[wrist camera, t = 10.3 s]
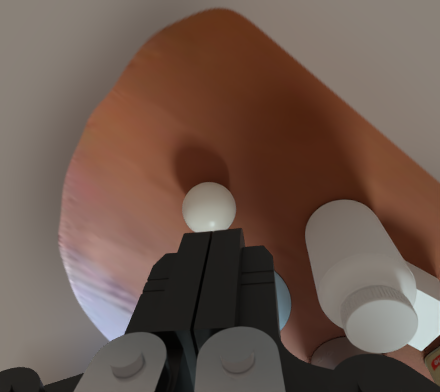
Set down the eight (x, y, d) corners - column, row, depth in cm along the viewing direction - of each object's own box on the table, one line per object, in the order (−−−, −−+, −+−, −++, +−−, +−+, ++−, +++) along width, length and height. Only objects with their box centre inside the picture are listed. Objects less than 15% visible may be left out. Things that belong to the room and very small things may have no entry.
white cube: (401, 312, 46) (421, 351, 40) (360, 290, 45) (375, 327, 40) (437, 277, 43) (463, 314, 38) (394, 253, 43) (414, 287, 37)
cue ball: (244, 214, 36) (249, 209, 41) (205, 170, 36) (216, 171, 41) (201, 251, 36) (212, 241, 42) (164, 208, 37) (179, 204, 42)
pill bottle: (356, 183, 39) (410, 267, 26) (390, 240, 42) (456, 344, 28) (289, 219, 42) (306, 314, 28) (325, 271, 44) (357, 381, 30)
